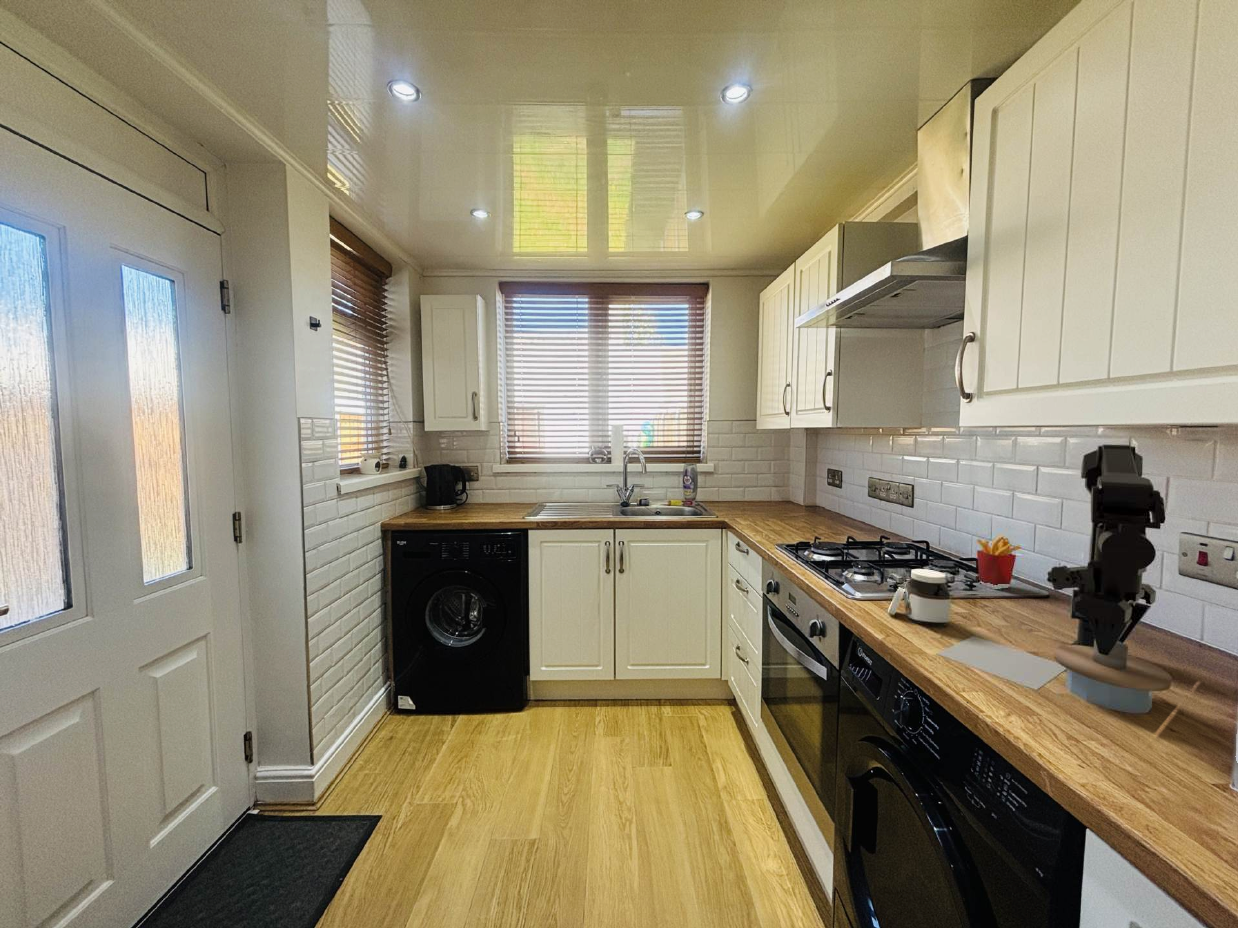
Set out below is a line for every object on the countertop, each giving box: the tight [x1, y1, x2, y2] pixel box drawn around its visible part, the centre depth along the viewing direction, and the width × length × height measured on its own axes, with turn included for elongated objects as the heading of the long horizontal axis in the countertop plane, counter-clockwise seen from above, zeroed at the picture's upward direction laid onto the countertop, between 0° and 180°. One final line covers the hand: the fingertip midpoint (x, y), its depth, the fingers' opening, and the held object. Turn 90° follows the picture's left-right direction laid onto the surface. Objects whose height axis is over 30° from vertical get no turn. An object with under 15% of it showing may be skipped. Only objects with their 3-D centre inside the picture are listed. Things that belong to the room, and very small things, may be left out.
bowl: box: [1065, 669, 1154, 714], centre depth 83 cm, size 10×10×5 cm
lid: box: [1053, 640, 1172, 692], centre depth 83 cm, size 14×14×4 cm
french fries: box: [976, 535, 1022, 585], centre depth 141 cm, size 9×8×15 cm
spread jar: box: [887, 568, 952, 628], centre depth 117 cm, size 12×11×12 cm
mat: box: [936, 635, 1067, 691], centre depth 96 cm, size 16×16×1 cm
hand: (1110, 648), depth 83 cm, fingers open, 7 cm apart
